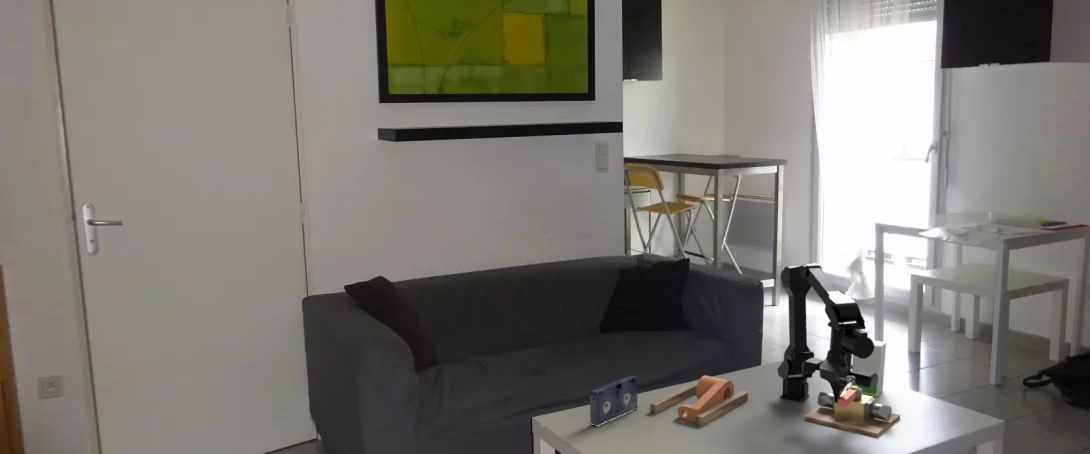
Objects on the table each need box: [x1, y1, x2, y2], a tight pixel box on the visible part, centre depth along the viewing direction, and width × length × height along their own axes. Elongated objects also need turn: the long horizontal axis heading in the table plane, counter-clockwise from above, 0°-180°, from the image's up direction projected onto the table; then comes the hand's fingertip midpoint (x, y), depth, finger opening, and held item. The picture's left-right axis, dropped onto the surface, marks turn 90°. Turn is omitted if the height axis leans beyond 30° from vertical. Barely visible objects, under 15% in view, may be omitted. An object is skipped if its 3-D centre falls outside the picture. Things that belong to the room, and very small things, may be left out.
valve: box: [817, 390, 893, 421], centre depth 227 cm, size 19×7×5 cm, turn 48°
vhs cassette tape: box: [589, 374, 638, 425], centre depth 231 cm, size 18×3×10 cm, turn 134°
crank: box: [677, 375, 735, 423], centre depth 236 cm, size 20×8×8 cm, turn 138°
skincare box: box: [850, 339, 887, 398], centre depth 248 cm, size 8×7×16 cm
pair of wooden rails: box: [649, 380, 749, 427], centre depth 239 cm, size 17×26×2 cm, turn 138°
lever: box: [838, 385, 863, 408], centre depth 223 cm, size 13×4×3 cm, turn 143°
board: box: [803, 405, 901, 438], centre depth 227 cm, size 20×17×1 cm
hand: (836, 402), depth 221 cm, fingers closed
